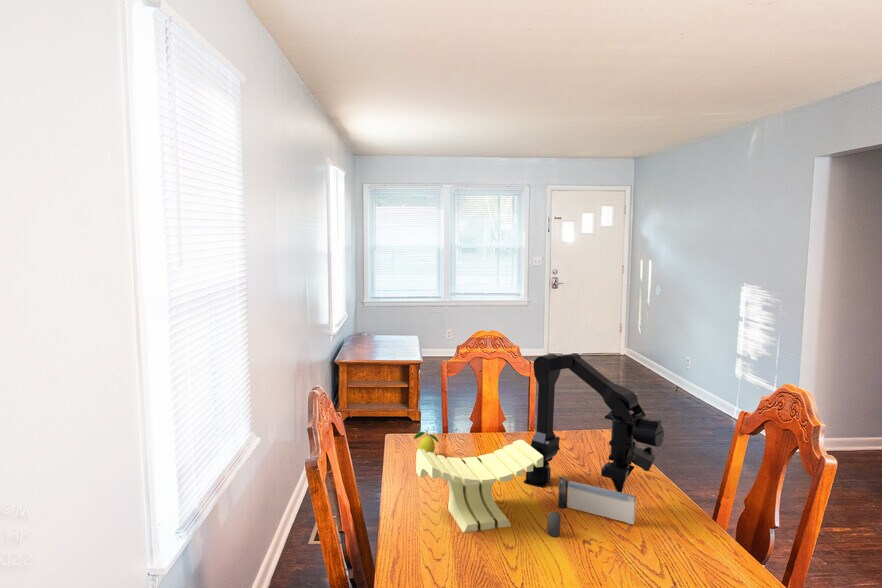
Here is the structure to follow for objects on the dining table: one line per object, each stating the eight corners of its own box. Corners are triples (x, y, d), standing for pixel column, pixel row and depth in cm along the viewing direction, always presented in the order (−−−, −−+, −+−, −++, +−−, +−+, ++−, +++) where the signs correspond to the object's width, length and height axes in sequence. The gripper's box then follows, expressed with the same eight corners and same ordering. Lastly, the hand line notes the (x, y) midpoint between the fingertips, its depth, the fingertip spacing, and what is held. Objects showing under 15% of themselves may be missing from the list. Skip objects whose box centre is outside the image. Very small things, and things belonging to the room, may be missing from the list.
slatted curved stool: (516, 496, 164) (518, 436, 162) (541, 522, 149) (543, 456, 147) (415, 508, 155) (416, 444, 154) (431, 537, 140) (432, 467, 139)
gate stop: (546, 534, 142) (546, 515, 142) (550, 529, 145) (550, 510, 144) (557, 538, 141) (558, 518, 140) (561, 532, 143) (562, 513, 143)
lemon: (413, 458, 191) (413, 429, 190) (422, 453, 196) (423, 425, 195) (429, 462, 188) (430, 433, 187) (439, 457, 193) (439, 428, 192)
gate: (567, 507, 156) (568, 483, 155) (569, 505, 158) (570, 480, 157) (633, 524, 147) (634, 498, 147) (634, 521, 149) (635, 495, 148)
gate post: (556, 507, 157) (557, 479, 157) (559, 503, 159) (560, 476, 159) (565, 509, 156) (566, 481, 155) (568, 506, 158) (569, 478, 157)
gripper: (646, 454, 142) (643, 513, 143) (659, 433, 158) (656, 487, 160) (601, 445, 148) (599, 503, 149) (618, 426, 164) (616, 478, 165)
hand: (619, 492), depth 156 cm, fingers closed
